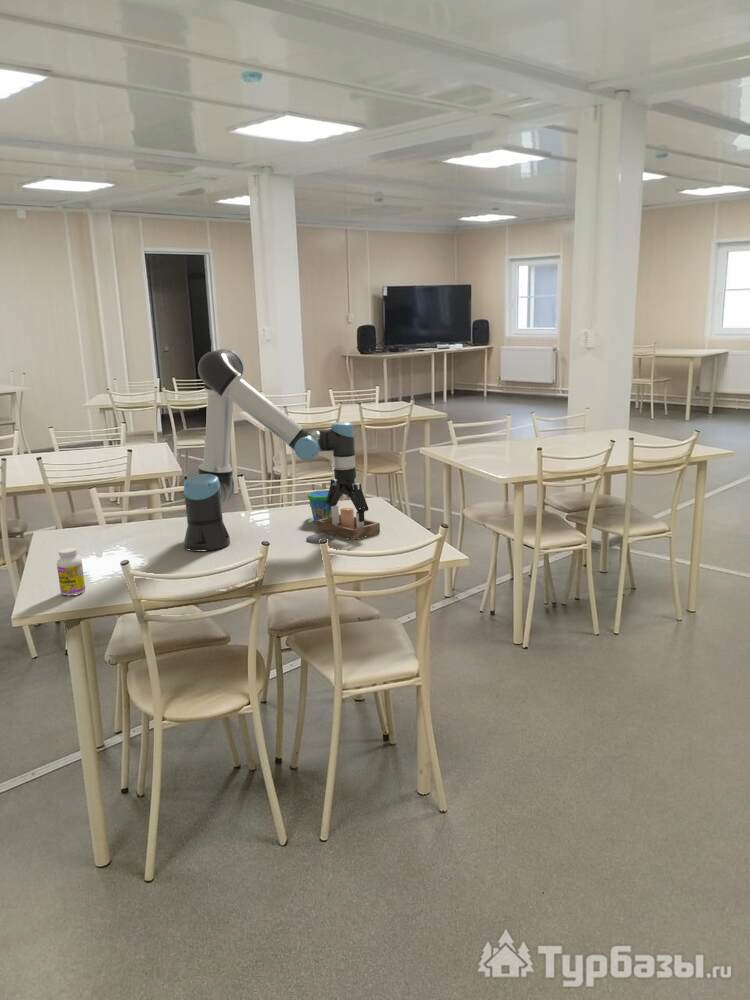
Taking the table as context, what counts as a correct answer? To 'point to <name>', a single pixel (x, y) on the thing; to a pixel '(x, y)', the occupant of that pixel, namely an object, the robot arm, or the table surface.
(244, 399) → the robot arm
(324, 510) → the snack cup
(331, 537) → the slate coaster
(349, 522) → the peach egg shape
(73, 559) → the supplement bottle
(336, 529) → the tray
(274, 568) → the table surface
